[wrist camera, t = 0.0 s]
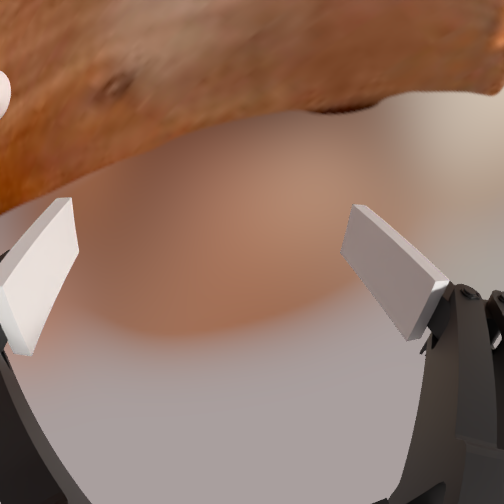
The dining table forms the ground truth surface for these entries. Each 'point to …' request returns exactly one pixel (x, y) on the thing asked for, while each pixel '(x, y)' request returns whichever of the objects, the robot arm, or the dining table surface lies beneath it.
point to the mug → (4, 93)
